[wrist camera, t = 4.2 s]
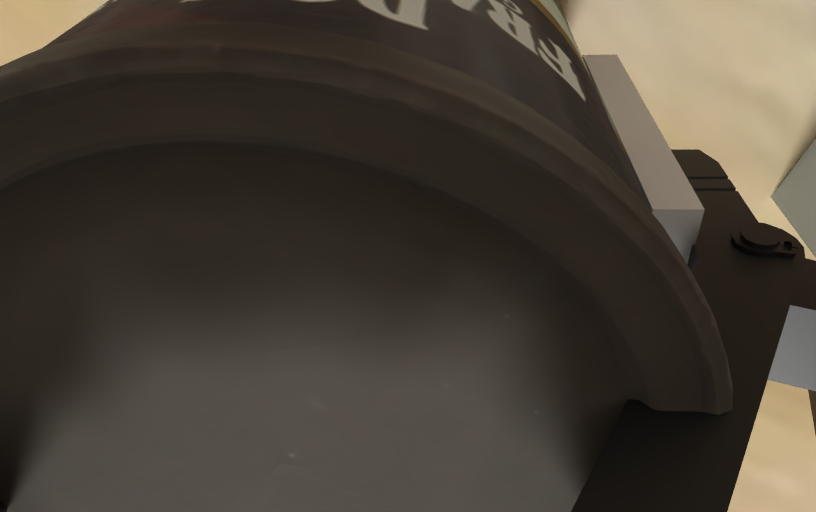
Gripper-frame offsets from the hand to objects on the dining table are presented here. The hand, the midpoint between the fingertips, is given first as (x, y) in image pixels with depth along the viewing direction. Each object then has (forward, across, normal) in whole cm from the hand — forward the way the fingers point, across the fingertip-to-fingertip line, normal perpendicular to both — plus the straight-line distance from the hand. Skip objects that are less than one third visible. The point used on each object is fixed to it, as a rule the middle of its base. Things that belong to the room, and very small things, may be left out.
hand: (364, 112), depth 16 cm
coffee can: (+4, 0, 0) cm, 4 cm away
